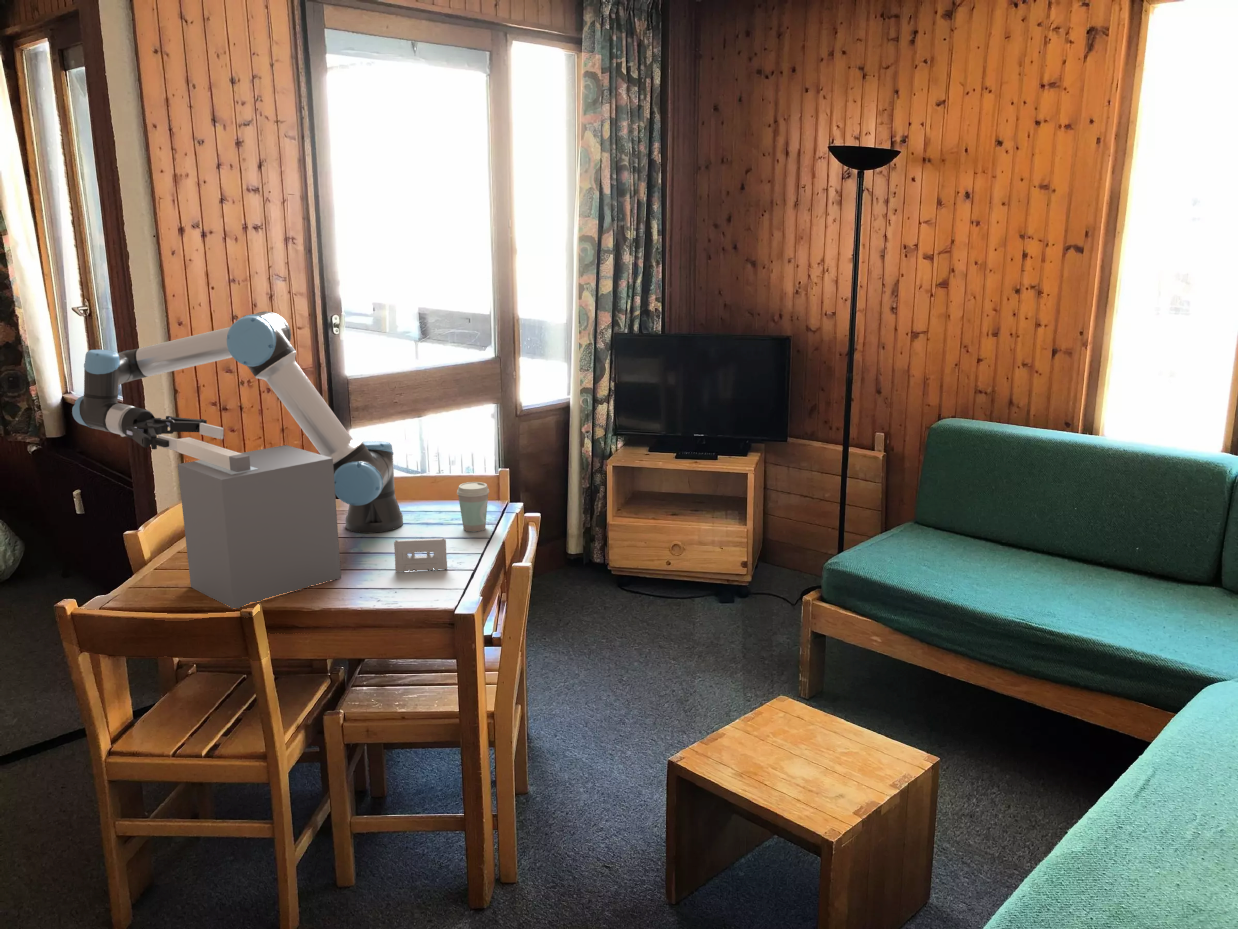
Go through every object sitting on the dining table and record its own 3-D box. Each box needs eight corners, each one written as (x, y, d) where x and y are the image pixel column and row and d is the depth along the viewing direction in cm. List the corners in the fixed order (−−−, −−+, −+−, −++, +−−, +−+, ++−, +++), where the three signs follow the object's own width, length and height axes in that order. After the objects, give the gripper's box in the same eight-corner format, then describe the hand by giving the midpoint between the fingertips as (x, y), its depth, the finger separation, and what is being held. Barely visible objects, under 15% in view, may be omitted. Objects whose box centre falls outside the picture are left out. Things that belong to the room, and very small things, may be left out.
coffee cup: (484, 534, 263) (483, 490, 260) (453, 532, 264) (451, 488, 262) (494, 525, 271) (493, 482, 268) (464, 523, 273) (463, 480, 270)
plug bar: (177, 452, 229) (176, 439, 228) (190, 449, 231) (189, 437, 230) (237, 472, 211) (235, 458, 210) (250, 469, 213) (249, 455, 212)
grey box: (190, 587, 225) (177, 463, 218) (295, 559, 244) (286, 444, 237) (233, 609, 212) (221, 479, 205) (341, 578, 230) (332, 457, 224)
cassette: (395, 573, 234) (393, 542, 232) (395, 570, 236) (394, 539, 234) (447, 571, 236) (445, 540, 234) (447, 568, 237) (446, 537, 236)
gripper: (169, 426, 257) (237, 443, 251) (90, 448, 234) (163, 467, 228) (169, 397, 254) (238, 414, 249) (89, 417, 232) (163, 436, 226)
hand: (202, 439), depth 238 cm, fingers open, 13 cm apart
